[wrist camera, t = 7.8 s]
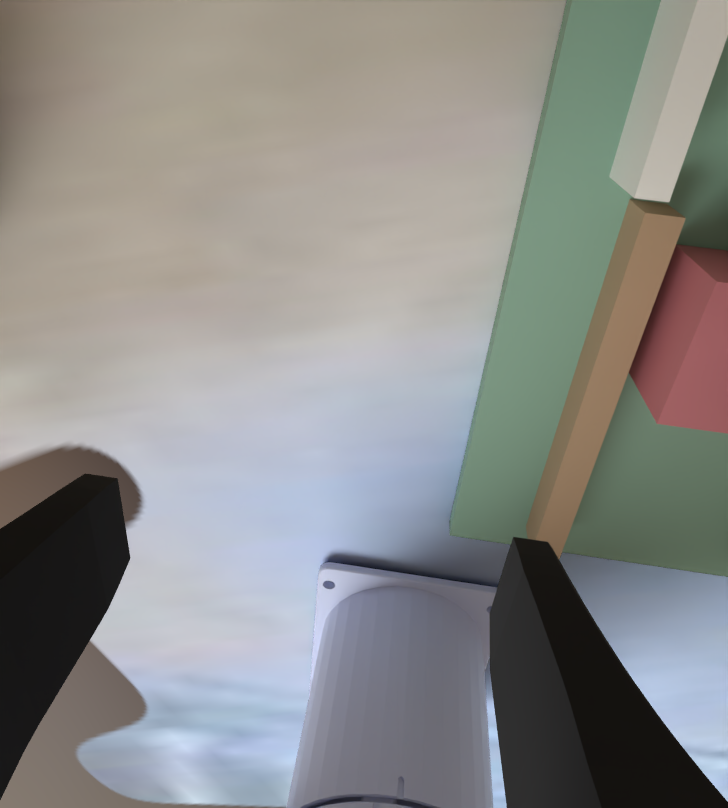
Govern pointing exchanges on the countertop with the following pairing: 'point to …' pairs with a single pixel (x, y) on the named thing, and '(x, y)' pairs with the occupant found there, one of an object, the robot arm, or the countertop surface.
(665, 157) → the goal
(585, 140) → the pitch
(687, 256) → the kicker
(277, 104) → the countertop surface
